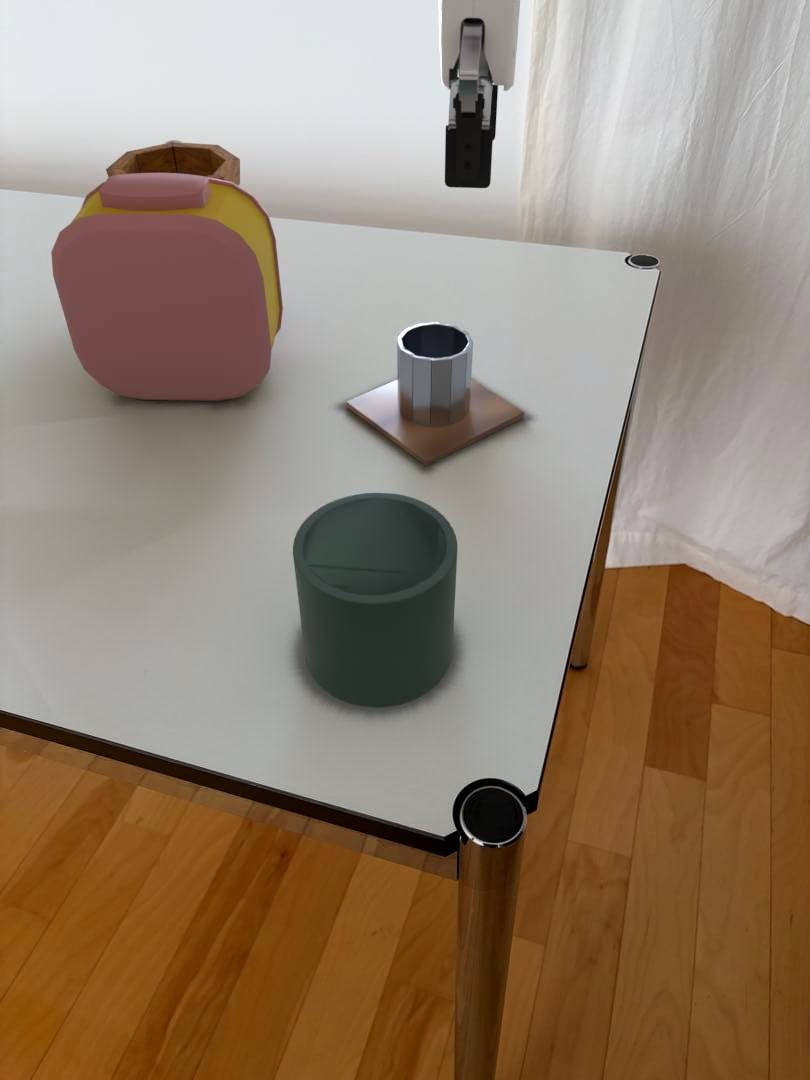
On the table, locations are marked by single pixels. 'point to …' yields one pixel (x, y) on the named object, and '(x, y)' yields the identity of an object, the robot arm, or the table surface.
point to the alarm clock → (170, 287)
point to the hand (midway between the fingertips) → (471, 161)
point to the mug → (180, 161)
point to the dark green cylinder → (376, 597)
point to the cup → (434, 373)
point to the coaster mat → (434, 441)
